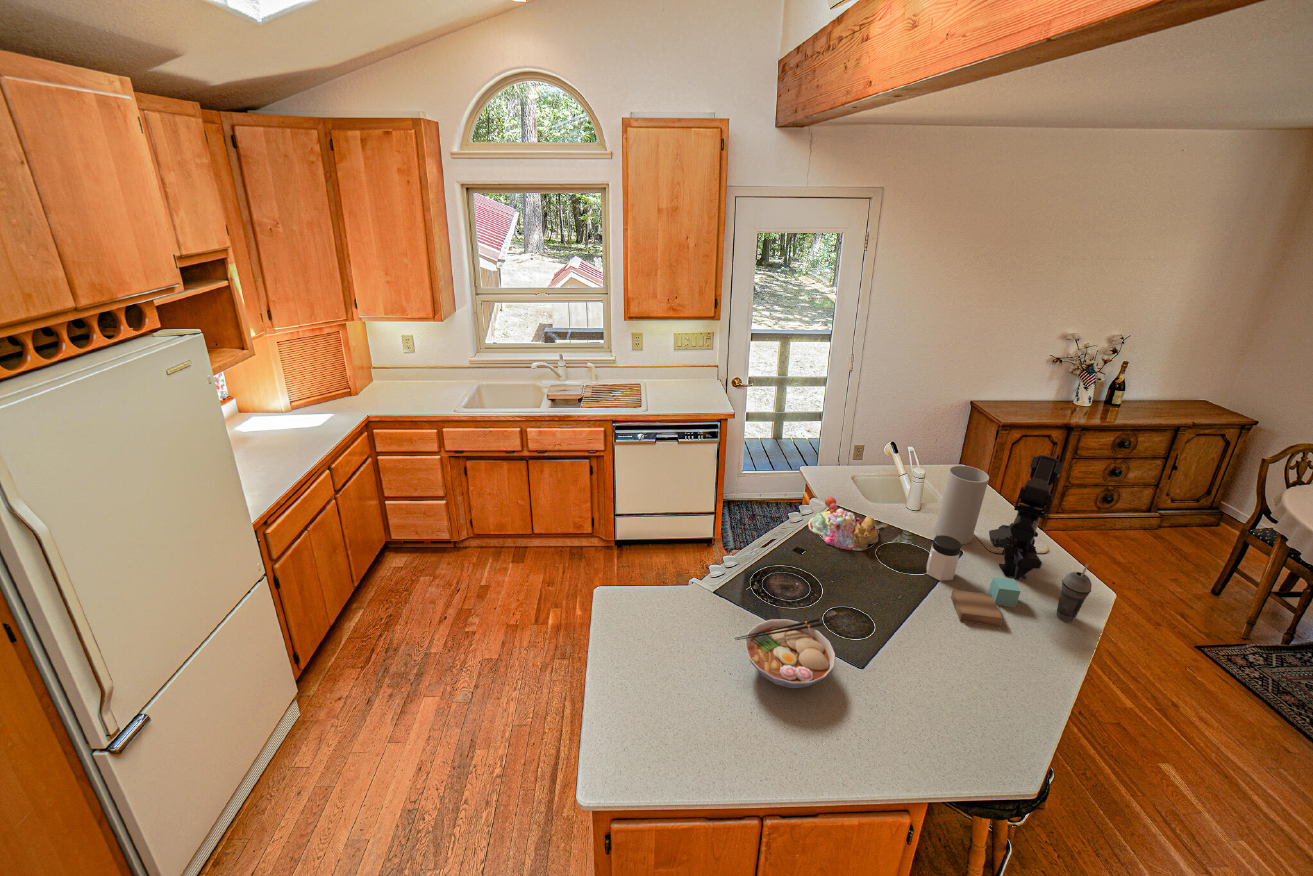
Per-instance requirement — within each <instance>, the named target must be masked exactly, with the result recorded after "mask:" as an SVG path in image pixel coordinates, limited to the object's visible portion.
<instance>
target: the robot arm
mask: <svg viewBox="0 0 1313 876" xmlns="http://www.w3.org/2000/svg"><path fill="white" fill-rule="evenodd" d="M1063 466H1064V464H1063V463H1062V462H1060V461H1059V460H1058V459H1057V457H1054V456H1049V455H1046V454H1045V455H1044V454H1040V455H1038V456H1036V455H1035V456H1032V458H1031V461H1030V465H1029V468H1028V470H1029V471H1030V473H1029V478H1030V479H1029V480H1026V482H1025V484H1024V486H1021V487H1020V489H1019V493H1018V495H1017V499H1016V502H1015V505H1014V508H1013V510H1014V511H1017V514H1016V517H1015V518H1014V521H1013V522H1011V523H1010V524H1009V525H1008V524H1007V525H1006V524H1002V525H1000V526H999V527H998V528H997V529H996V528H995V529H991V530H989V531H988V534H989V540H990V543H991V544H992V546H993V547H994V548H997V549H998V548H1000V549H1002V552H1001V553H1002V554H1001V555H1002V556H1003V559H1004V560H1003V561H1004V562H1003V563H999V564H998V566H999V568H1000V570H1001V572H1002V574H1003V576H1005V577H1008V578H1014V580H1017V581H1019V580H1020V579H1023V580H1024V579H1026V578H1027V576H1026V575H1027V574H1028V573H1029V572H1031V571H1032V570H1040V569H1041V567H1042V565H1043V562H1042V560H1041V558H1040V557H1039V556H1038V552H1037V549H1036V548H1037V547H1036V546H1035V543H1036V540H1035V538H1037V537H1038V535H1039V533H1038V532H1037V529H1038V526H1039V522H1040V521H1041V520H1040V519H1045V517H1046V515H1049V512H1050V509H1051V507H1052V504H1053V500H1054V499H1053V494H1052V493H1050V492H1051V489H1052V487H1051V485H1053V484H1054V483H1055V482H1056V479H1057V478H1060V476H1061V473H1062V469H1063ZM1019 503H1020V504H1019Z"/></svg>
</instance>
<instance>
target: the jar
mask: <svg viewBox="0 0 1313 876" xmlns="http://www.w3.org/2000/svg"><path fill="white" fill-rule="evenodd" d="M961 549H962V544H961V543H960V542H959V541H958V540H956V539H954V538H952V537H949V536H944V535H940V536H937V535H936V536H934V538H933V541H932V543H931V547H930V551H929V555H928V559H927V562H926V574H927V575H928V576H930V577H931V578H933V579H935V580H938V581H940V582H944V581H952V580H954V577H955V573H956V569H957V566H958V563H959V559H960V552H961Z"/></svg>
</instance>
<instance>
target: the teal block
mask: <svg viewBox="0 0 1313 876" xmlns="http://www.w3.org/2000/svg"><path fill="white" fill-rule="evenodd" d="M1015 580H1016V579H1015V578H1010V577H1008V578H1007V577H1000V576H993V577H992V579H991V582H990V586H989V589H988V594H991V595H992V597H993V599H994V601H995V603H996V605H997V606H1003V607H1004V606H1005V607H1013V608H1016V607H1017V603H1018V600H1019V597H1020V594H1021V591H1022V590H1021V589H1020V588H1019V586H1018V584H1017V582H1016V581H1015Z"/></svg>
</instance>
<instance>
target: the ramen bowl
mask: <svg viewBox="0 0 1313 876" xmlns="http://www.w3.org/2000/svg"><path fill="white" fill-rule="evenodd" d="M823 625H824V624H823V622H820V618H817V617H816V618H815V619H809V620H806V621H801V622H800V621H795V620H792V619H787V618H783V619H781V618H780V619H779V618H778V619H768V620H766V621H762V622H760V623H757V624H755V625H754V627H752V628H751V629H750V630H749V631H748V632H747V634H745V635H742V636H738V637H734V640H735V641H738V640H744V646H745V647H744V648H745V651H746V654H747V658H748V660H749V662H750V663H751V664H752V665H753V667H754V668H755V669H756V670H757V671H758V673H759V674H760V675H761V676H762V677H764V678H766V679H767V680H768V681H770V682H772V683H774V684H775V685H778V686H782V687H786V688H790V689H793V688H798V689H799V688H806V687H809V686H811V685H814V684H816V683H818V682H820V681H822V680H823V679H825V677H827V676H828V674H829V673H830V671H832V670H833V668H834V667H835V663H836V662H835V661H836V653H835V650H834V648H833V646H832V643H831V642H830V640H829V639H828V638H826V637H825V636H824V635H823V634H822V633H821V632H820V631H819V630H818V629H815V628H817V627H823Z"/></svg>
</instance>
